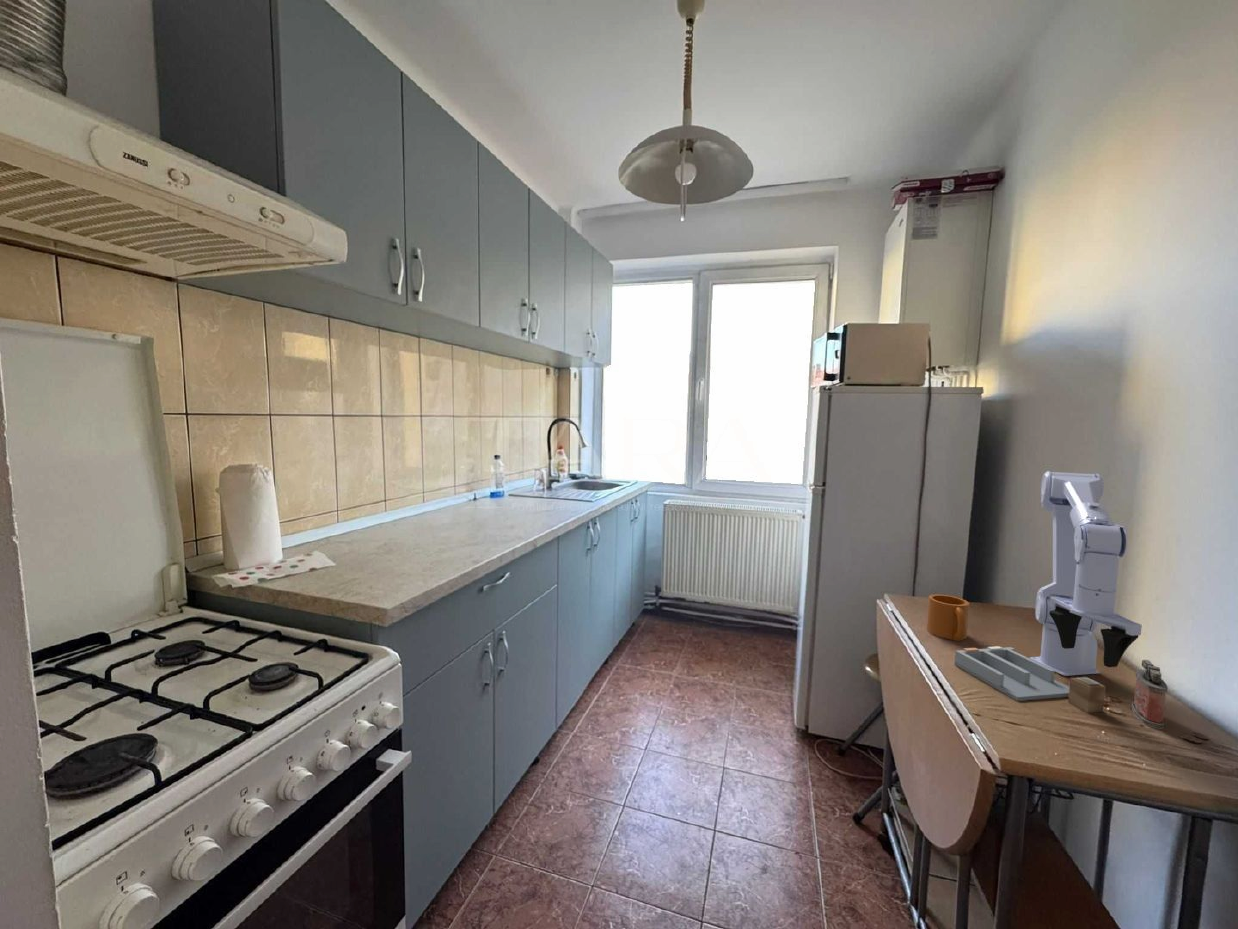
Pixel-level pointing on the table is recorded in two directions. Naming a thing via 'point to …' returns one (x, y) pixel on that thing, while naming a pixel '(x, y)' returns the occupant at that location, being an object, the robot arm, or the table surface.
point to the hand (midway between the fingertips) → (1088, 656)
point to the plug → (1086, 694)
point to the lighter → (1149, 695)
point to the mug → (947, 617)
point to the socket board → (1011, 673)
